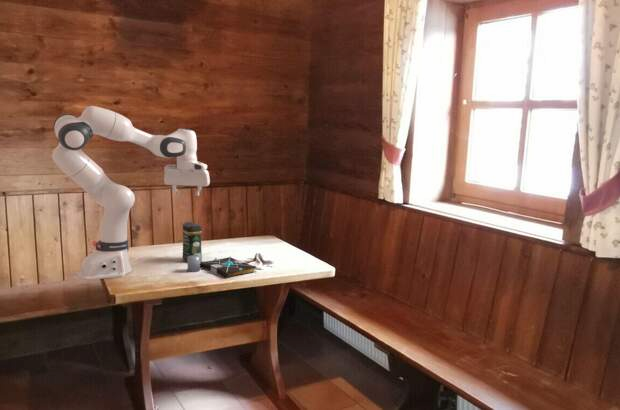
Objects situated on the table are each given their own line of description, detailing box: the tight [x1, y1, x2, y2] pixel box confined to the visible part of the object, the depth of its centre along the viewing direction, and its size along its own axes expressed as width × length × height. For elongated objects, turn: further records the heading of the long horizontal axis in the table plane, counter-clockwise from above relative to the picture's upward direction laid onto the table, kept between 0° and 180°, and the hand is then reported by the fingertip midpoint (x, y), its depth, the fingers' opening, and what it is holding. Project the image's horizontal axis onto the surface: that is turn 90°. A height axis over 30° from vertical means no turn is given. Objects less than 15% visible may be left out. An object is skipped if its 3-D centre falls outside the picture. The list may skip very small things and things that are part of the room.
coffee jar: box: [182, 221, 203, 263], centre depth 250 cm, size 10×8×19 cm
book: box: [200, 255, 257, 279], centre depth 238 cm, size 22×17×5 cm
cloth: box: [241, 251, 279, 270], centre depth 250 cm, size 22×19×6 cm
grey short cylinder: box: [187, 255, 201, 273], centre depth 234 cm, size 5×5×6 cm
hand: (187, 195), depth 236 cm, fingers open, 8 cm apart
